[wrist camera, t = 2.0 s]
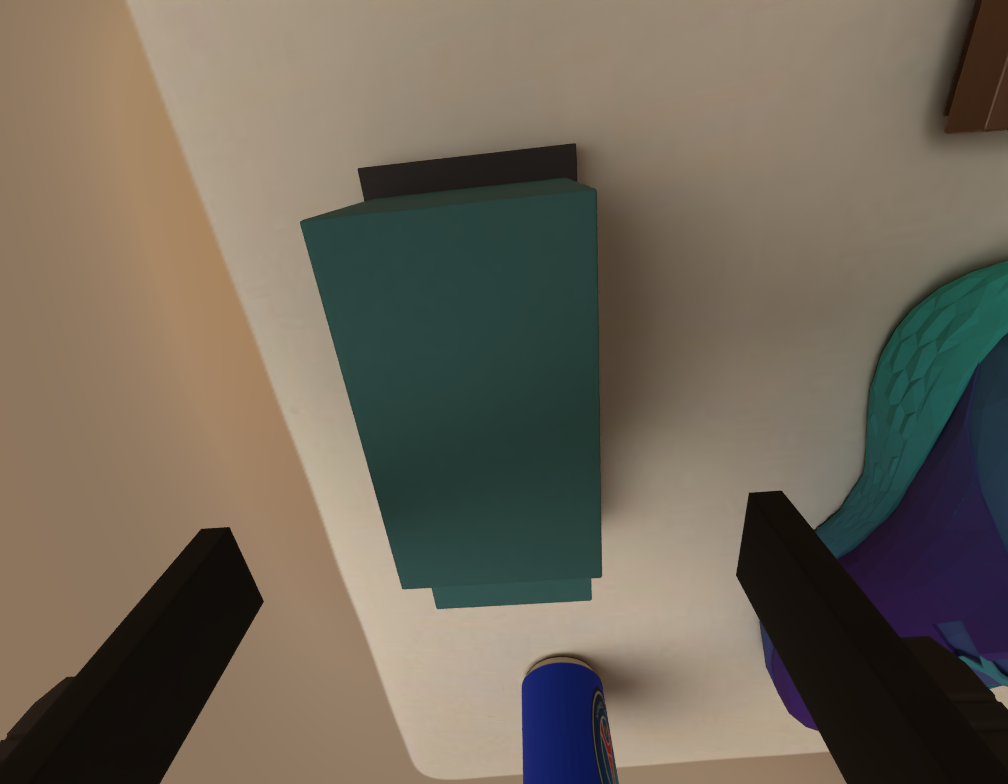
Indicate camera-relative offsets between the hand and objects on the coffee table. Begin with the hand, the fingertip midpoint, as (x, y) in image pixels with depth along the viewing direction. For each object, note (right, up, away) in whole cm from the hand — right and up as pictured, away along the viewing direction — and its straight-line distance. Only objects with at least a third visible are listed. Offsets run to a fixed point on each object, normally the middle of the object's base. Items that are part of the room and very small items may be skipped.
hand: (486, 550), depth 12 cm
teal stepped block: (0, +5, +9) cm, 10 cm away
